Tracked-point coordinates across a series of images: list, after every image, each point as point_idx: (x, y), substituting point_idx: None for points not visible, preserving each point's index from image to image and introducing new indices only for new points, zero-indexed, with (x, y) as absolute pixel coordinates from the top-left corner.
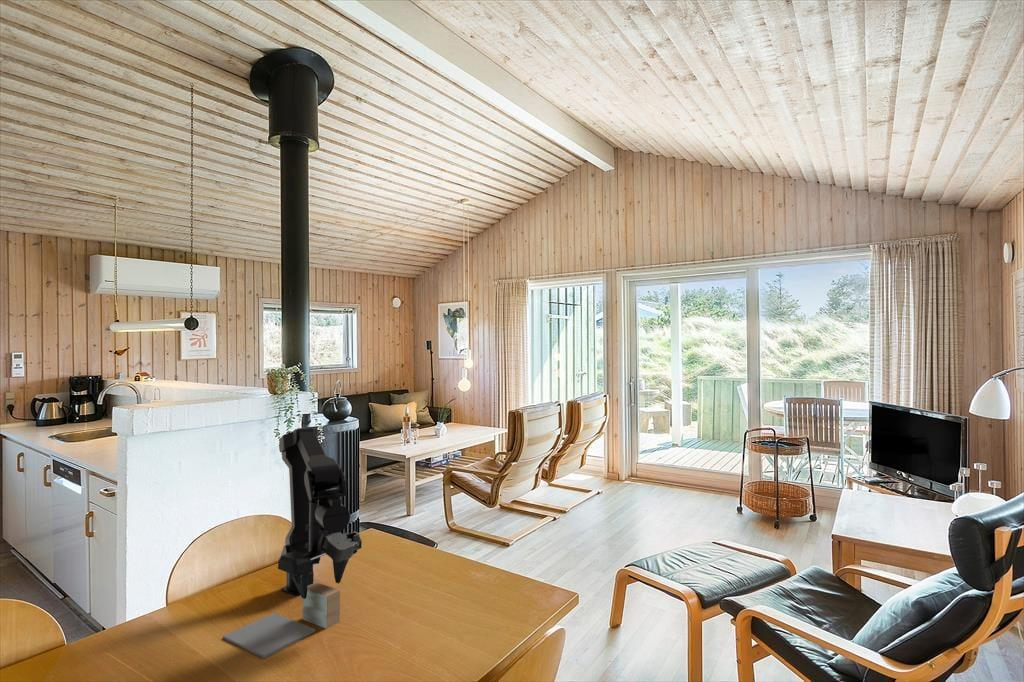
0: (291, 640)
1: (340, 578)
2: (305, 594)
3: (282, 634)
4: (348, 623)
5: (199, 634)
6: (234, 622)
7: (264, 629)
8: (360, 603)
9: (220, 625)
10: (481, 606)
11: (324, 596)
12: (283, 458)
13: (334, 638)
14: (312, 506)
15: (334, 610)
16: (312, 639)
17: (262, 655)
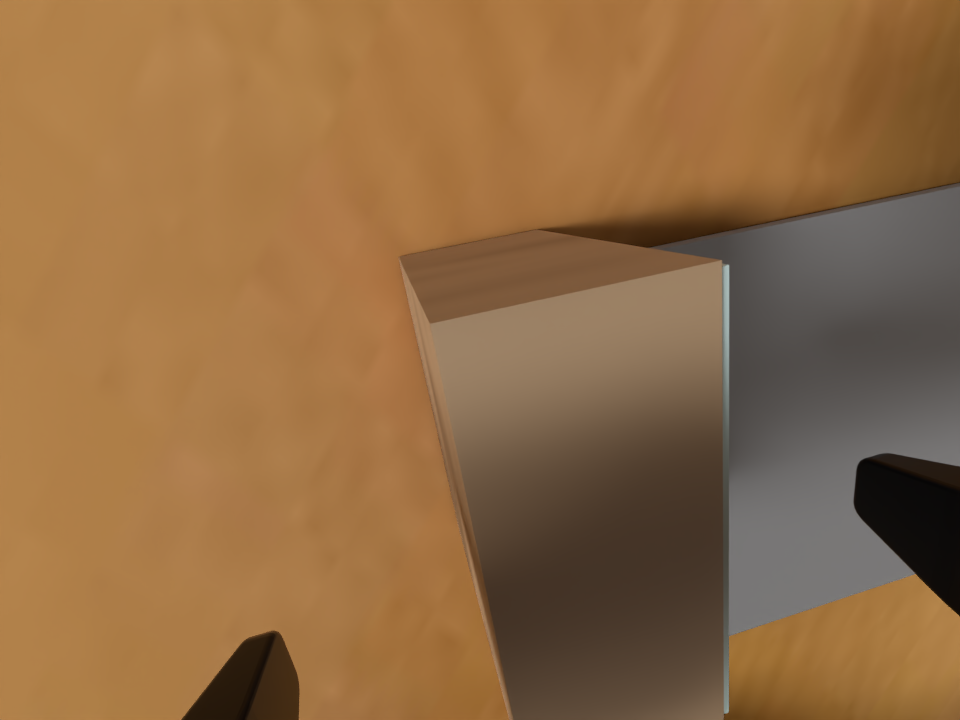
0: (827, 227)
1: (223, 701)
2: (953, 473)
3: (804, 356)
4: (344, 177)
5: (937, 652)
6: (801, 679)
7: (815, 495)
8: (54, 457)
9: (849, 683)
10: None
11: (724, 313)
12: None
13: (578, 20)
14: None
15: (485, 259)
16: (690, 167)
17: None
